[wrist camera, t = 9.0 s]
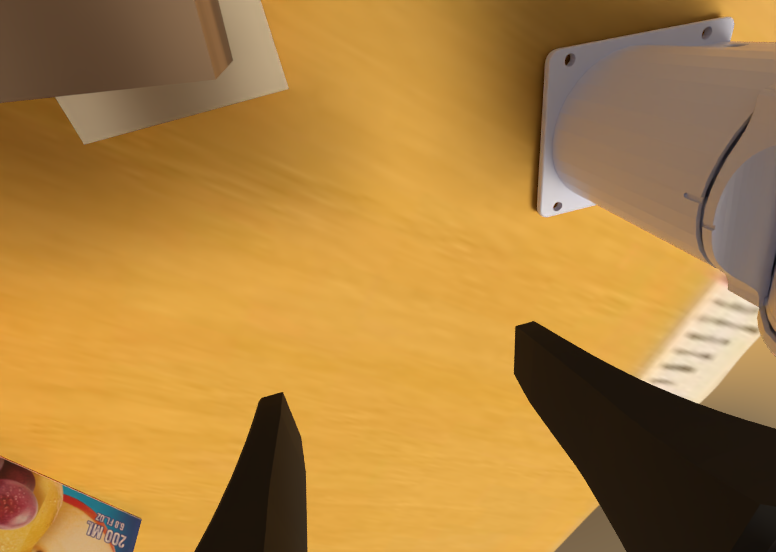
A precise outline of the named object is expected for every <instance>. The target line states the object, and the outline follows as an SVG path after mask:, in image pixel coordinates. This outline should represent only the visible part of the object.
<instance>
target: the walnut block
mask: <svg viewBox="0 0 776 552" xmlns="http://www.w3.org/2000/svg"><path fill="white" fill-rule="evenodd" d="M232 61H233V58H232V54H231V50H230V46H229V42H228V38H227V34H226V30H225V26H224V22H223V17H222V13H221V9H220V5H219V1H218V0H0V103H4V102H13V101H22V100H32V99H41V98H50V97H59V96H69V95H78V94H87V93H96V92H105V91H115V90H124V89H133V88H142V87H152V86H161V85H170V84H179V83H188V82H198V81H207V80H216V79H217V78H218V77H219V76H220V74H221V73H222V72H223V71H224V70H225V69H226V68H227V67H228V66H229V65H230V64H231V62H232Z"/></svg>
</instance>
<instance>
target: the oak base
mask: <svg viewBox="0 0 776 552" xmlns="http://www.w3.org/2000/svg"><path fill="white" fill-rule="evenodd" d="M218 1H219V5H220V9H221V13H222V17H223V22H224V26H225V30H226V34H227V38H228V42H229V46H230V50H231V54H232V58H233V61H232V62H231V64H230V65H229V66H228V67H227V68H226V69H225V70H224V71H223V72H222V73H221V74H220V76H219V77H218V78H217V79H216V80H207V81H198V82H188V83H179V84H170V85H161V86H152V87H142V88H133V89H124V90H115V91H105V92H96V93H87V94H78V95H69V96H59V97H55V98H56V100H57V101H58V103H59V104H60V106H61V108H62V109H63V111H64V113H65V114H66V116H67V117H68V119H69V121H70V122H71V124H72V126H73V127H74V129H75V130H76V132H77V134H78V135H79V137H80V138H81V140H82V142H83V143H84V145H85V144H88V143H92V142H96V141H99V140H103V139H107V138H110V137H114V136H118V135H121V134H125V133H129V132H132V131H136V130H140V129H143V128H147V127H151V126H154V125H158V124H162V123H165V122H169V121H173V120H176V119H180V118H184V117H188V116H191V115H195V114H199V113H202V112H206V111H210V110H213V109H217V108H221V107H224V106H228V105H232V104H235V103H239V102H243V101H246V100H250V99H254V98H257V97H261V96H265V95H268V94H272V93H276V92H279V91H283V90H287V89H289V88H288V84H287V81H286V78H285V75H284V72H283V69H282V66H281V63H280V59H279V56H278V53H277V50H276V47H275V44H274V41H273V38H272V35H271V31H270V28H269V25H268V22H267V19H266V16H265V13H264V10H263V7H262V3H261V0H218Z"/></svg>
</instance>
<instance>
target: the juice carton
mask: <svg viewBox="0 0 776 552" xmlns="http://www.w3.org/2000/svg"><path fill="white" fill-rule="evenodd" d="M141 520H142V519H140V518H138V517H136V516H134V515H131V514H129V513H127V512H125V511H122V510H120V509H118V508H116V507H113V506H111V505H109V504H107V503H104V502H102V501H100V500H98V499H95V498H93V497H91V496H89V495H86V494H84V493H82V492H80V491H77V490H75V489H73V488H71V487H68V486H66V485H64V484H62V483H59V482H57V481H55V480H53V479H50V478H48V477H46V476H44V475H42V474H39V473H37V472H35V471H33V470H30V469H28V468H26V467H24V466H21V465H19V464H17V463H15V462H12V461H10V460H8V459H6V458H3V457H1V456H0V552H133V550H134V546H135V543H136V539H137V535H138V531H139V527H140V524H141Z"/></svg>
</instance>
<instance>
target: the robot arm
mask: <svg viewBox="0 0 776 552" xmlns="http://www.w3.org/2000/svg"><path fill="white" fill-rule="evenodd" d="M733 28H734V20H733V19H732V18H731V17H719V18H714V19H709V20H704V21H699V22H693V23H688V24H683V25H678V26H672V27H667V28H662V29H657V30H652V31H646V32H641V33H636V34H631V35H626V36H620V37H615V38H610V39H605V40H600V41H594V42H589V43H584V44H579V45H574V46H568V47H563V48H558V49H555V50H552V51H551V52H550V53H549V54H548V56H547V58H546V61H545V74H544V91H543V109H542V127H541V144H540V162H539V180H538V198H537V212H538V213H539V214H540V215H541V216H543V217H550V216H554V215H558V214H562V213H566V212H570V211H574V210H578V209H582V208H586V207H590V206H594V205H598V206H600V207H602V208H604V209H606V210H608V211H609V212H611V213H613V214H615V215H617V216H619V217H621V218H623V219H624V220H626V221H628V222H630V223H632V224H634V225H636V226H638V227H640V228H641V229H643V230H645V231H647V232H649V233H651V234H653V235H655V236H657V237H658V238H660V239H662V240H664V241H666V242H668V243H670V244H672V245H674V246H675V247H677V248H679V249H681V250H683V251H685V252H687V253H689V254H691V255H692V256H694V257H696V258H698V259H700V260H702V261H704V262H706V263H708V264H709V265H711V266H713V267H715V268H718V269H719V270H721V271H722V272H723V273H725V275H726V277H727V279H728V290H729V291H731V292H733V293H735V294H736V295H738V296H740V297H742V298H743V299H745V300H747V301H749V302H751V303H752V304H754V305H756V306H758V307H759V312H758V316H757V320H758V328H759V331H760V334H761V336H762V339H763V341H764V342H765V344H766V345H767V347H768V348H769V350H770V351H771V352H772V354H774V356H776V42H730V40H731V36H732V32H733ZM703 30H704V34H703V36H702V33H703ZM568 54H569V55H570V61H569V63H568V64H567V65H565V58H566V56H567V55H568ZM557 202H558V204H557V206H556V207H555V208H553V206H554V205H555V203H557ZM514 375H515V376H516V378H517V380H518V382H519V384H520V386H521V388H522V390H523V391H524V393H525V395H526V397H527V398H528V400H529V402H530V403H531V405H532V406H533V408H534V409H535V410H536V412H537V413H538V415H539V416H540V417H541V419H542V420H543V422H544V423H545V424H546V426H547V427H548V428H549V430H550V431H551V433H552V434H553V435H554V437H555V438H556V439H557V441H558V442H559V443H560V445H561V446H562V448H563V449H564V450H565V452H566V453H567V454H568V456H569V457H570V459H571V460H572V461H573V463H574V464H575V465H576V467H577V468H578V470H579V471H580V473H581V474H582V476H583V477H584V479H585V481H586V482H587V484H588V486H589V487H590V489H591V491H592V492H593V494H594V496H595V497H596V499H597V501H598V502H599V504H600V506H601V507H602V509H603V511H604V513H605V514H606V516H607V518H608V520H609V521H610V523H611V525H612V527H613V528H614V530H615V532H616V534H617V535H618V537H619V539H620V541H621V542H622V544H623V546H624V548H625V550H626V551H627V552H776V429H775V428H771V427H768V426H764V425H761V424H758V423H754V422H751V421H747V420H744V419H741V418H738V417H735V416H732V415H729V414H726V413H723V412H720V411H717V410H714V409H712V408H708V407H706V406H703V405H700V404H698V403H695V402H692V401H690V400H687V399H684V398H682V397H679V396H677V395H675V394H672V393H670V392H667V391H665V390H663V389H660V388H658V387H656V386H653V385H651V384H649V383H647V382H644V381H642V380H640V379H638V378H636V377H634V376H632V375H630V374H628V373H626V372H624V371H622V370H620V369H618V368H616V367H614V366H612V365H610V364H608V363H606V362H604V361H602V360H601V359H599V358H597V357H595V356H593V355H591V354H590V353H588V352H586V351H584V350H583V349H581V348H579V347H577V346H576V345H574V344H572V343H570V342H569V341H567V340H565V339H564V338H562V337H560V336H558V335H557V334H555V333H553V332H552V331H550V330H548V329H547V328H545V327H543V326H541V325H540V324H538V323H536V322H534V321H532V322H529V323H525V324H522V325H518V326H516V327H515V357H514ZM194 552H307V509H306V471H305V463H304V455H303V448H302V441H301V436H300V433H299V431H298V428H297V426H296V423H295V421H294V418H293V416H292V414H291V411H290V409H289V406H288V404H287V401H286V399H285V396H284V394H283V392H281V393H277V394H274V395H270V396H267V397H263V398H261V399H260V401H259V403H258V406H257V410H256V413H255V416H254V419H253V422H252V425H251V428H250V431H249V434H248V436H247V439H246V442H245V445H244V447H243V450H242V452H241V455H240V457H239V460H238V462H237V465H236V467H235V470H234V472H233V475H232V477H231V479H230V481H229V484H228V486H227V488H226V490H225V492H224V495H223V497H222V499H221V501H220V503H219V505H218V508H217V510H216V512H215V514H214V516H213V518H212V520H211V522H210V524H209V525H208V527H207V529H206V531H205V533H204V535H203V537H202V539H201V540H200V542H199V544H198V546H197V548H196V550H195V551H194Z"/></svg>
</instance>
